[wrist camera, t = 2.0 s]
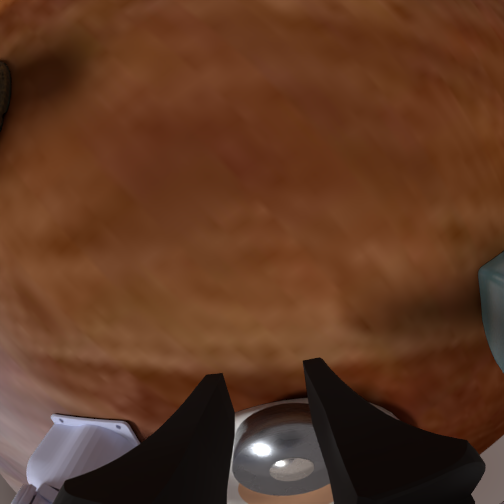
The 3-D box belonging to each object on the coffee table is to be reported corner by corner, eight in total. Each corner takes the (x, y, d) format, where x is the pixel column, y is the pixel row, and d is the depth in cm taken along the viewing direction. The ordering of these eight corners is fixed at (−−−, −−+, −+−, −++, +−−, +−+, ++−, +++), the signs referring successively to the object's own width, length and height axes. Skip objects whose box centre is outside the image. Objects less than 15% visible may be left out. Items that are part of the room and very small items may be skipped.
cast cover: (246, 473, 20) (245, 501, 17) (223, 411, 19) (218, 442, 16) (341, 458, 20) (348, 485, 17) (340, 392, 18) (351, 422, 15)
